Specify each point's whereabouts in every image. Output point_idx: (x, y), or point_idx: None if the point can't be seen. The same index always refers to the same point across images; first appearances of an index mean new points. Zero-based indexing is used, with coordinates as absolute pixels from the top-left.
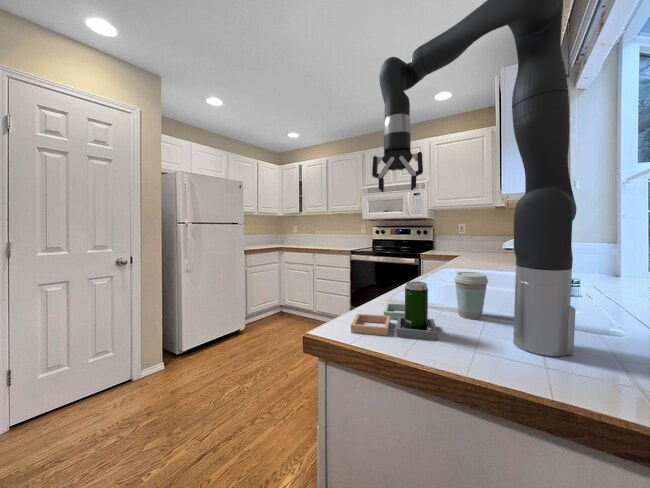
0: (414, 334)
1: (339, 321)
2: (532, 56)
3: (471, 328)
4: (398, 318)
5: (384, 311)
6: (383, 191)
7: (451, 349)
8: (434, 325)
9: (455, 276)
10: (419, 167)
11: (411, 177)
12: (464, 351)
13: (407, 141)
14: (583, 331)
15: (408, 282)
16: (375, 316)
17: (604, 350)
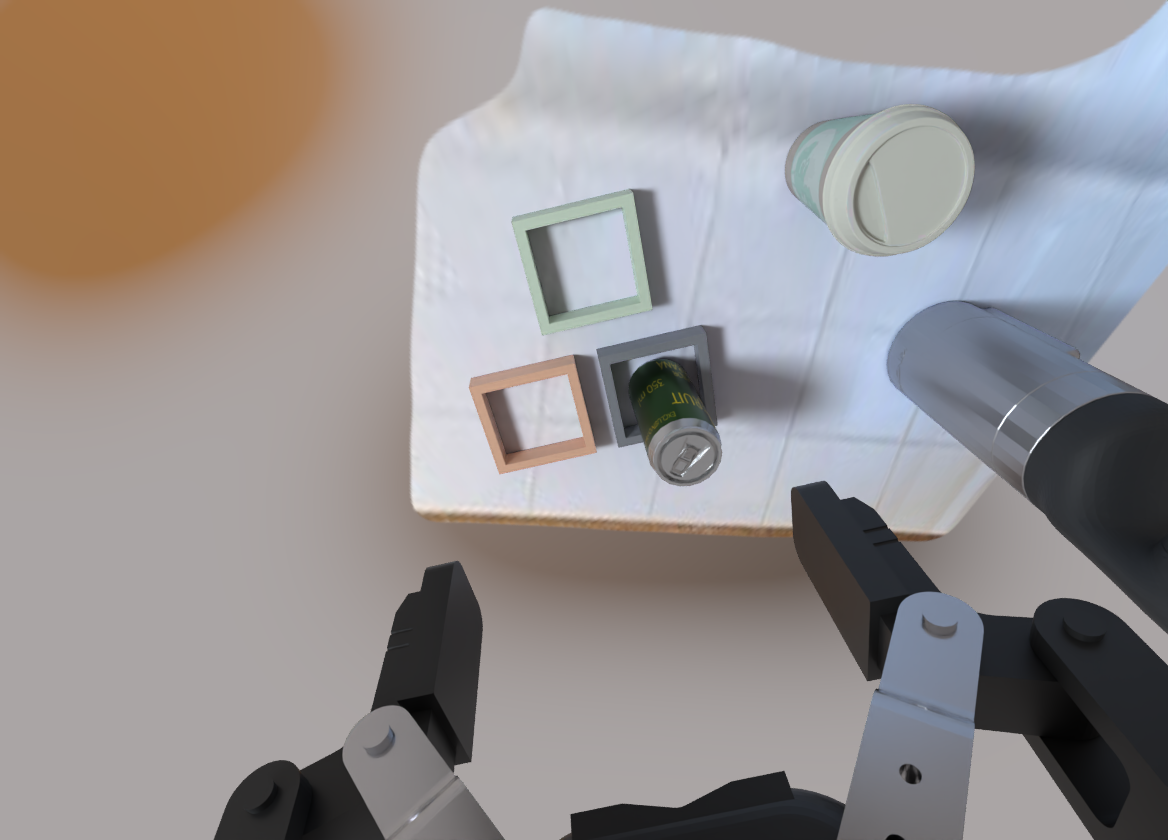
0: None
1: (428, 412)
2: None
3: (805, 295)
4: (604, 373)
5: (543, 329)
6: (475, 597)
7: (742, 445)
8: (710, 382)
9: (836, 202)
10: (1084, 788)
11: (865, 669)
12: (768, 443)
13: None
14: (1120, 173)
15: (659, 448)
16: (531, 380)
17: (1073, 305)
